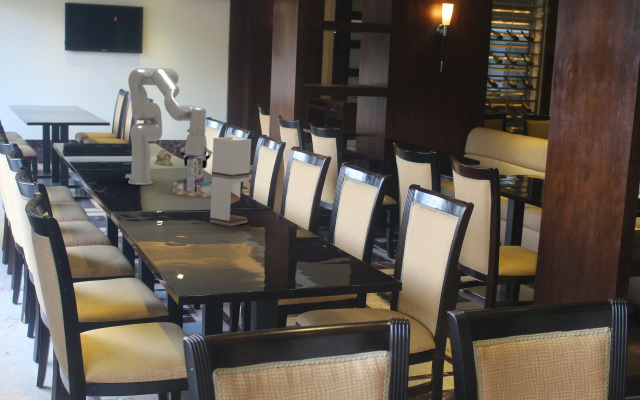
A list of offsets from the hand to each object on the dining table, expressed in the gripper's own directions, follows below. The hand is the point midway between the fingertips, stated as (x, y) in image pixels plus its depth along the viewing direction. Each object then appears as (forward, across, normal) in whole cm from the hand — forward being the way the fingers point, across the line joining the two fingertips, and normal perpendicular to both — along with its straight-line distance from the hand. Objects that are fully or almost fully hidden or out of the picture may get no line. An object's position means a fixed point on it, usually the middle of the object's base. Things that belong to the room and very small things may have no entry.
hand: (195, 166), depth 397 cm
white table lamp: (+12, +45, -56) cm, 73 cm away
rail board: (+14, +1, 0) cm, 14 cm away
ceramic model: (+16, -66, +90) cm, 113 cm away
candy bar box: (+12, 0, 0) cm, 12 cm away
